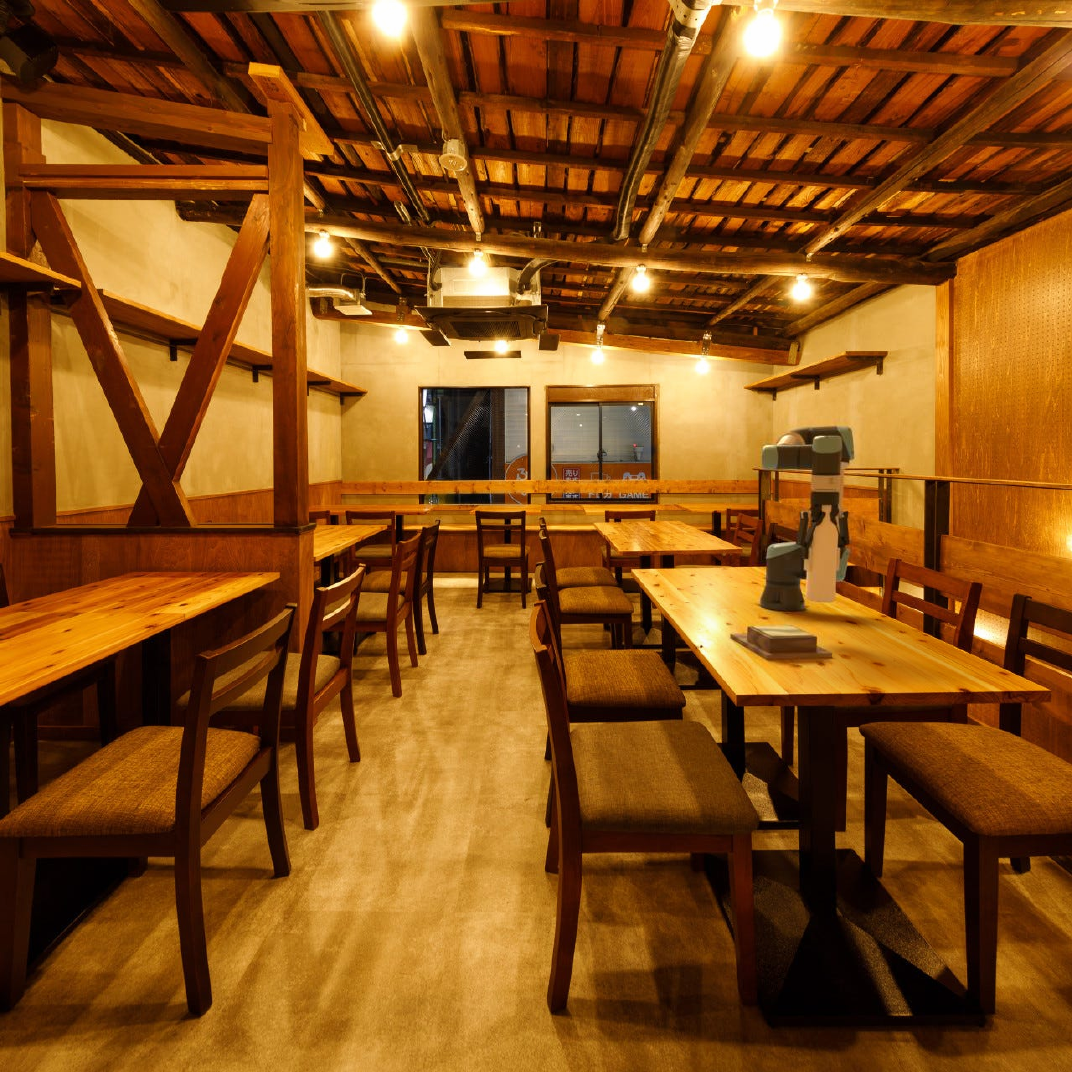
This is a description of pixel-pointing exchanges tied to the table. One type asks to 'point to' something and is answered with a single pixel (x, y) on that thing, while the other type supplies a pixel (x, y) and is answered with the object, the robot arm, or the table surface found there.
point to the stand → (781, 642)
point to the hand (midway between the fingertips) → (821, 569)
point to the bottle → (823, 561)
